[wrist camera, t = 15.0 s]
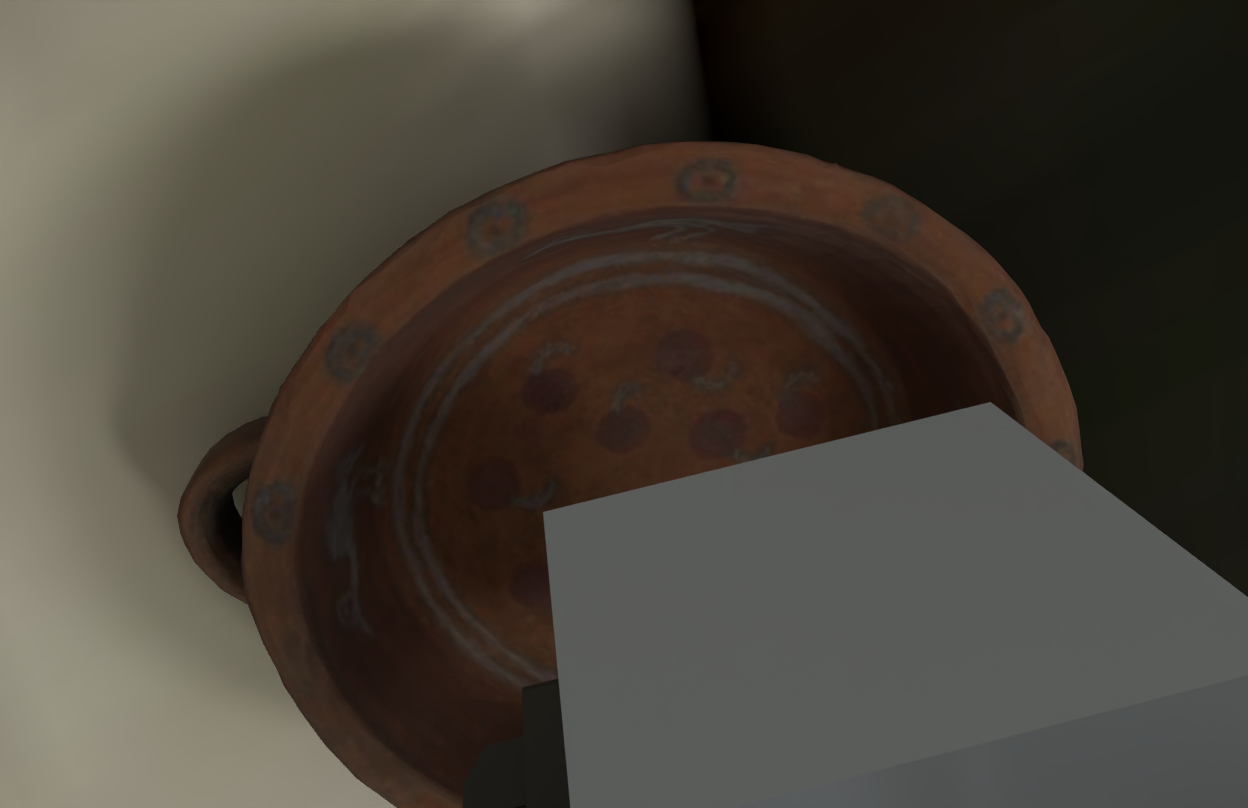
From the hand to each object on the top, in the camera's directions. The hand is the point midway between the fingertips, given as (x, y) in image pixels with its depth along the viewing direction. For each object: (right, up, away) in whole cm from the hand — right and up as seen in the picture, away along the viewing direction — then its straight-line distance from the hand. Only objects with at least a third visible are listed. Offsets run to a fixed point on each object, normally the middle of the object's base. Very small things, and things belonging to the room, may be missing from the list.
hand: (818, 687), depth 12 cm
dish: (-1, +1, +16) cm, 16 cm away
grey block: (0, 0, +1) cm, 1 cm away
